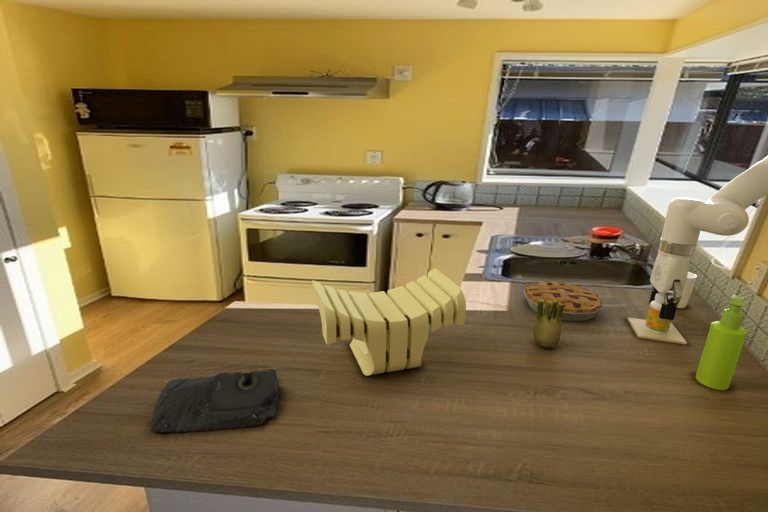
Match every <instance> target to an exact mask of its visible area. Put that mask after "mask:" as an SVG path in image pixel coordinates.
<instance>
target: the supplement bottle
mask: <svg viewBox="0 0 768 512" xmlns="http://www.w3.org/2000/svg"><path fill="white" fill-rule="evenodd" d="M671 297H672V298H673V296H668V300H669V299H670V298H671ZM662 303H663V304H664V293H663V294H661V293H657V294H656V296H655V300H654V301H652V302H651V303H650V304H649V307H648V312H647V315H646V318H645V320H646V323H645V327H646V328H647V329H648V330H650V331H652V332H655V333H660V334H665V333H667V332H668V331H669V327H670V323H672V320H667V319H660V318H659V314H660V310H661V306H662Z"/></svg>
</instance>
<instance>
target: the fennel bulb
mask: <svg viewBox="0 0 768 512" xmlns="http://www.w3.org/2000/svg"><path fill="white" fill-rule="evenodd" d="M551 304H552V301H546V305H545V310H544V314H543V300H538V307H537V312H536V315H535V319H534V323H533V338H534V341H535V343H536V344H538V345H539V346H540V347H541V348H544V349H554V348H555V347H556V346H557V345H558V344H559V343H560V341H561V338H562V337H561V336H562V320H561V317H562V313H563V309H564V306H565V305H564V304H563V303H560V302H559V304H558V301H556V300H553V305H552V310H551V314H550V316H549V313H550V309H551ZM557 304H558V307H557Z"/></svg>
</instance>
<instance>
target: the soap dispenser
mask: <svg viewBox="0 0 768 512" xmlns="http://www.w3.org/2000/svg"><path fill="white" fill-rule="evenodd" d="M745 299H746V297H745V296H742V295H737V294H733V295H732V296H731V297H730V300H729V302H728V306H729V305H730V306H729V307H728V308H724V309H723V310H722V314H721V317H720V320H716V321H712V322H711V323H710V326H709V330H708V334H707V337H706V340H705V344H704V346H703V350H702V353H701V356H700V360H699V364H698V366H697V370H696V373H695V380H697V381H698V383H700V384H702V385H703V386H705V387H707V388H710V389H713V390H718V391H726V390H728V389H729V388H730V386H731V383H732V380H733V377H734V373H735V370H736V368H737V365H738V362H739V358H740V355H741V353H742V349H743V347H744V343H745V340H746V338H747V335H748V330H747V329H745V328H744V327H742V324H743V321H744V317H745V314H744V312H742V311H741V309H742V306H743V303H744V302H745Z"/></svg>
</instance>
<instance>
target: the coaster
mask: <svg viewBox="0 0 768 512" xmlns="http://www.w3.org/2000/svg"><path fill="white" fill-rule="evenodd" d="M627 321H628V323H629V324H630V327H631V328H632V330H633V332H634V333H635V335H636V336H637V338H638V339H644V340H652V341H659V342H666V343H673V344H679V345H680V344H681V345H688V341H686V339H685V337H684V336H683V335H682V334H681V332H680V331H679V330H678V328H676V326H675V325H674V324H673V323H672V322H671V323H670V327H669V331H668V332H667V333H665V334H660V333H655V332H652V331H650V330H648V329H647V328H646V327H645V323H646V319H643V318H635V317H627Z"/></svg>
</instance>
